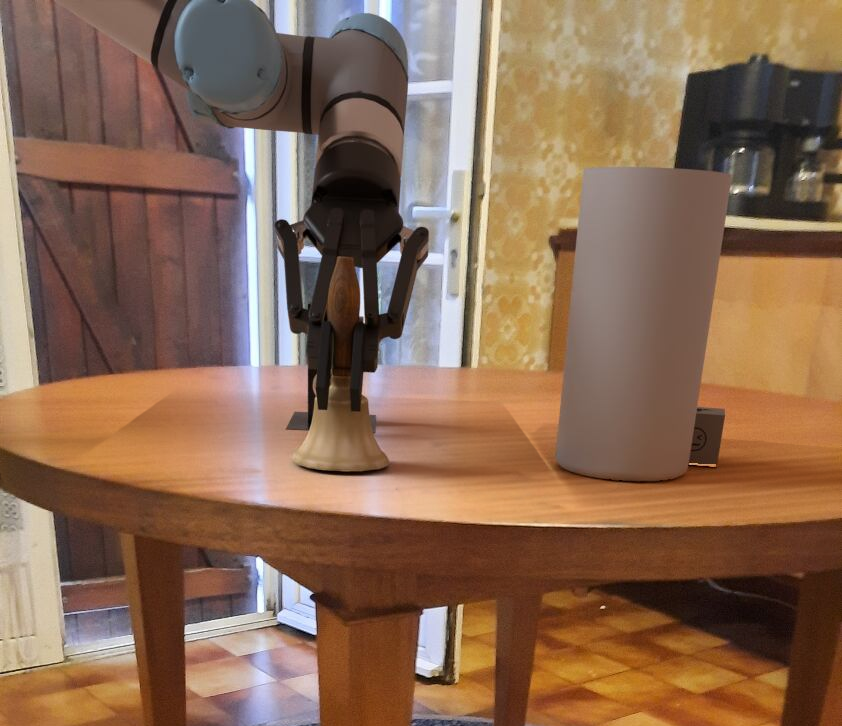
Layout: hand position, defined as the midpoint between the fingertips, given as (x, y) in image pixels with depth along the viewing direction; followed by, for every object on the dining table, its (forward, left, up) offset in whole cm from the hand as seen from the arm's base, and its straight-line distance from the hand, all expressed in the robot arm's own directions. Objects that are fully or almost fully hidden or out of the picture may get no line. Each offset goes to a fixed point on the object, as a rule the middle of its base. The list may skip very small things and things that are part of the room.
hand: (338, 399), depth 85 cm
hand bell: (+1, +4, -6) cm, 7 cm away
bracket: (+7, +27, -7) cm, 29 cm away
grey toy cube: (+39, +8, -7) cm, 41 cm away
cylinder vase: (+29, +5, -7) cm, 31 cm away
